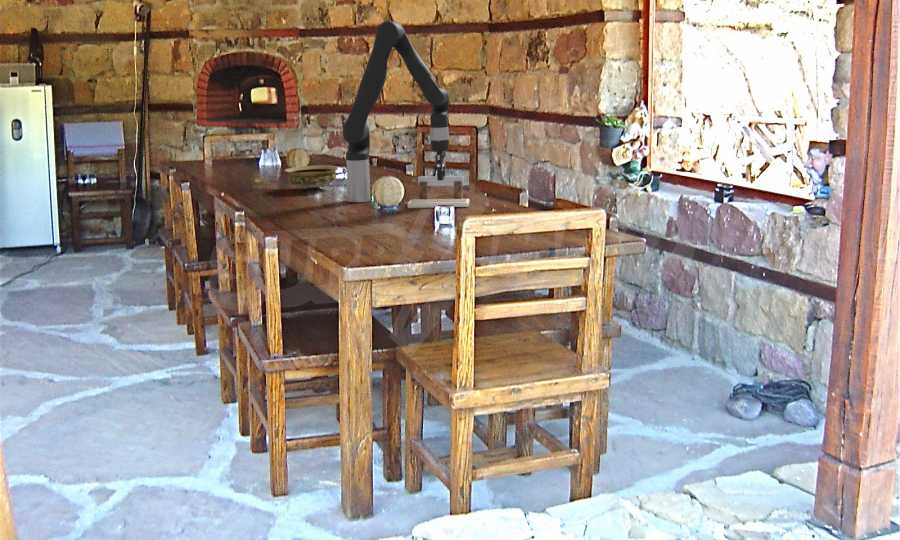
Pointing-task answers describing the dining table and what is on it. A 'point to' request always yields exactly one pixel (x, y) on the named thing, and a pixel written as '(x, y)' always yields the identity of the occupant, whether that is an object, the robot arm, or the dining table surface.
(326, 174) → the ceramic bowl
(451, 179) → the rail
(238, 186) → the dining table surface
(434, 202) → the tray
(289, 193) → the dining table surface
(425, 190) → the rack
